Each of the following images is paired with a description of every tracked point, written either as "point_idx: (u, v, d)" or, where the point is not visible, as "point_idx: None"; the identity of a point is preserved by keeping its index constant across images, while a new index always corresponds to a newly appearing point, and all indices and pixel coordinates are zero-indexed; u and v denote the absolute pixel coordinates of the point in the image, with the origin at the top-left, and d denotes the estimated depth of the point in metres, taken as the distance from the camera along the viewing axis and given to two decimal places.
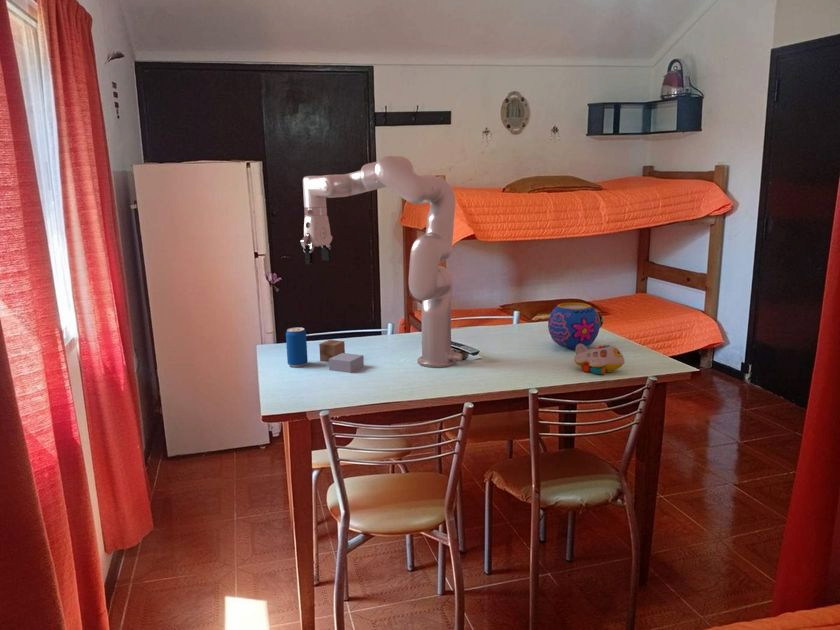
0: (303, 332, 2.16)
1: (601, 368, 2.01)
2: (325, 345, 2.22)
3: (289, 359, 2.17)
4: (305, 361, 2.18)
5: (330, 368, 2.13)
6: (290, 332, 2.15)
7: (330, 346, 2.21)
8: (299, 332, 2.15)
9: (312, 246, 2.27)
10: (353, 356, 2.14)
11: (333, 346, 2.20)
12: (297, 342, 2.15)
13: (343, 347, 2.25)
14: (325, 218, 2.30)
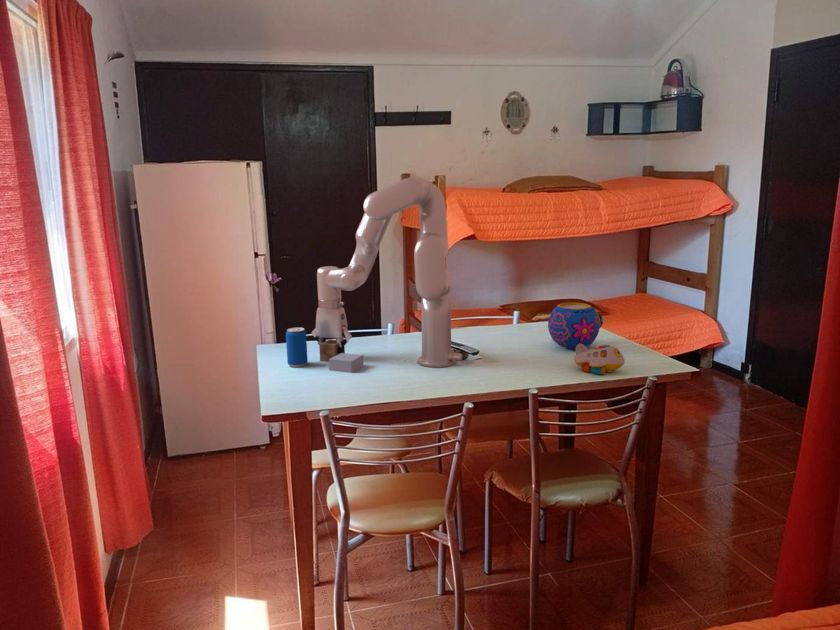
0: (303, 332, 2.16)
1: (601, 368, 2.01)
2: (325, 345, 2.22)
3: (289, 359, 2.17)
4: (305, 361, 2.18)
5: (330, 368, 2.12)
6: (290, 332, 2.15)
7: (330, 346, 2.21)
8: (299, 332, 2.15)
9: None
10: (353, 356, 2.14)
11: (333, 346, 2.20)
12: (297, 342, 2.15)
13: None
14: None
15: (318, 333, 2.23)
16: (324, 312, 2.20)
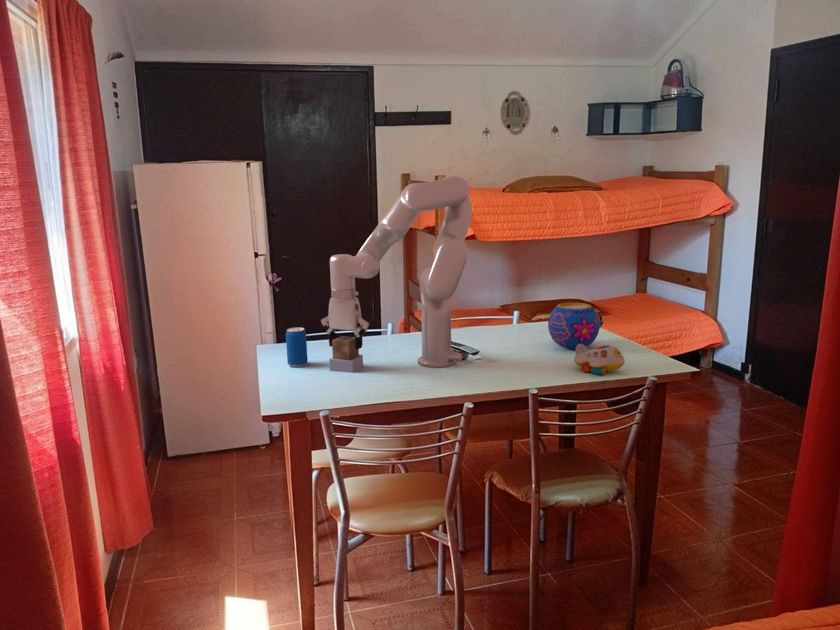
0: (303, 332, 2.16)
1: (601, 368, 2.01)
2: (338, 341, 2.11)
3: (289, 359, 2.17)
4: (305, 361, 2.18)
5: (331, 369, 2.12)
6: (290, 332, 2.15)
7: (343, 342, 2.10)
8: (299, 332, 2.15)
9: None
10: None
11: (347, 342, 2.09)
12: (297, 342, 2.15)
13: None
14: None
15: (331, 325, 2.12)
16: (337, 303, 2.09)
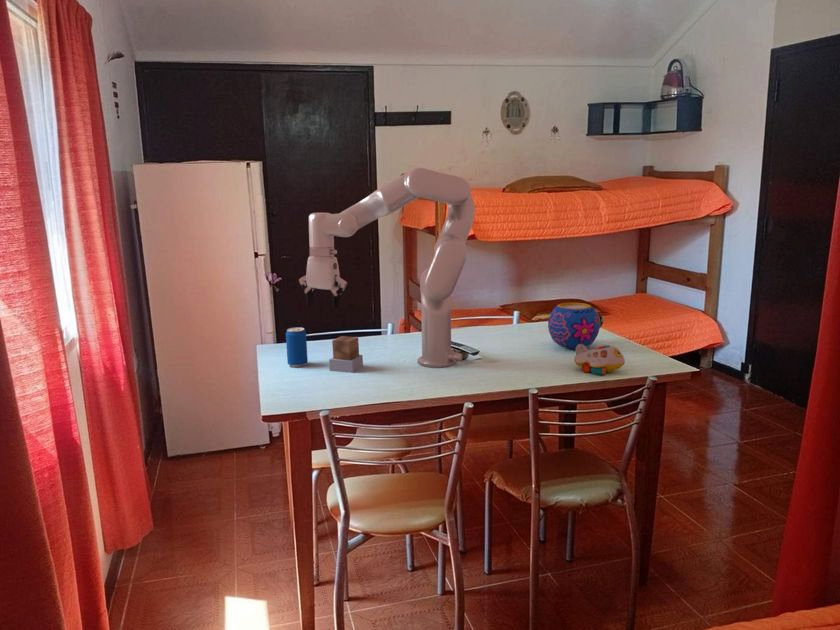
0: (303, 332, 2.16)
1: (601, 368, 2.01)
2: (339, 341, 2.10)
3: (289, 359, 2.17)
4: (305, 361, 2.18)
5: (331, 369, 2.12)
6: (290, 332, 2.15)
7: (344, 342, 2.10)
8: (299, 332, 2.15)
9: (337, 288, 2.10)
10: None
11: (347, 342, 2.09)
12: (297, 342, 2.15)
13: (357, 343, 2.14)
14: None
15: (308, 284, 2.11)
16: (315, 261, 2.08)
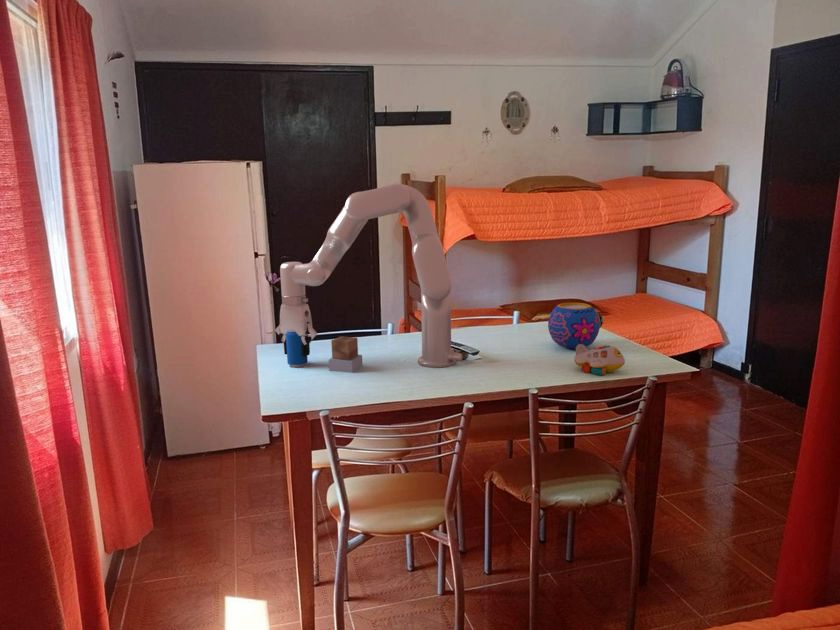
0: None
1: (602, 368, 2.01)
2: (338, 342, 2.10)
3: (289, 359, 2.17)
4: (305, 361, 2.18)
5: (330, 369, 2.12)
6: (290, 332, 2.15)
7: (343, 343, 2.10)
8: None
9: None
10: None
11: (346, 342, 2.09)
12: (297, 342, 2.15)
13: (356, 343, 2.14)
14: None
15: (282, 330, 2.17)
16: (287, 309, 2.14)
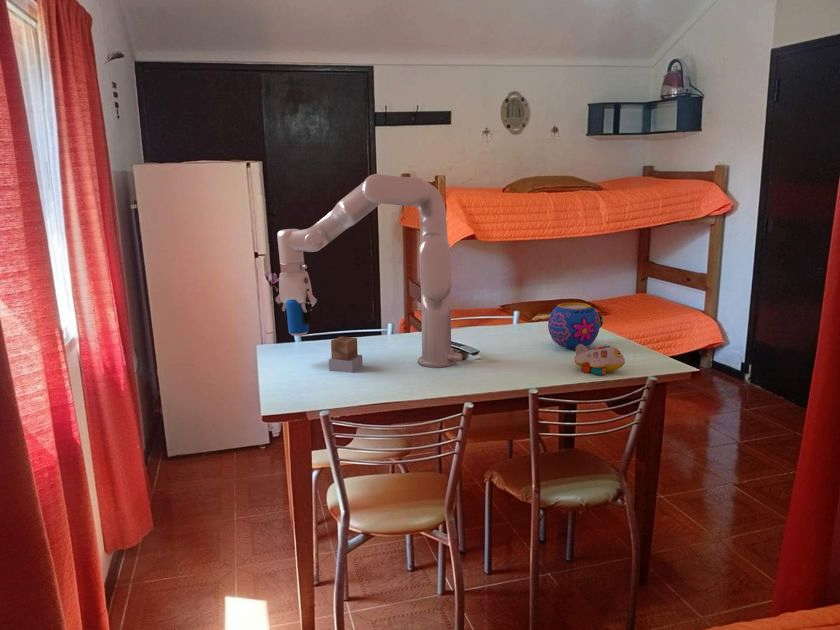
0: None
1: (602, 368, 2.00)
2: (337, 342, 2.10)
3: (290, 328, 2.15)
4: (306, 329, 2.16)
5: (330, 369, 2.12)
6: (290, 300, 2.13)
7: (342, 343, 2.09)
8: None
9: (308, 303, 2.15)
10: None
11: (346, 343, 2.09)
12: (298, 310, 2.13)
13: (356, 344, 2.14)
14: None
15: (282, 299, 2.15)
16: (286, 277, 2.12)
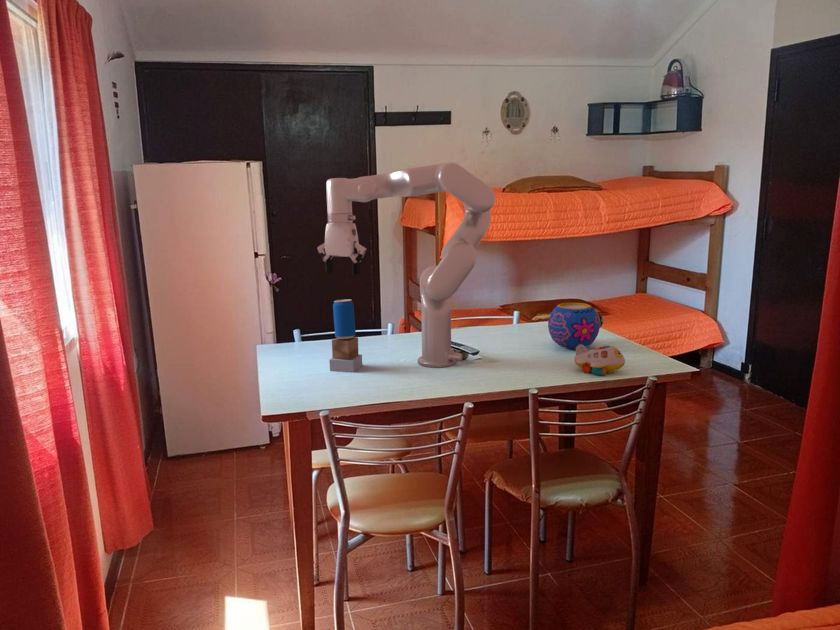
0: (351, 302, 2.10)
1: (602, 369, 2.00)
2: (338, 341, 2.11)
3: (337, 331, 2.10)
4: (354, 333, 2.11)
5: (331, 369, 2.12)
6: (338, 302, 2.09)
7: (343, 342, 2.10)
8: (347, 302, 2.09)
9: (356, 255, 2.06)
10: None
11: (346, 342, 2.09)
12: (346, 313, 2.09)
13: (357, 343, 2.14)
14: None
15: (327, 251, 2.07)
16: (333, 228, 2.04)
